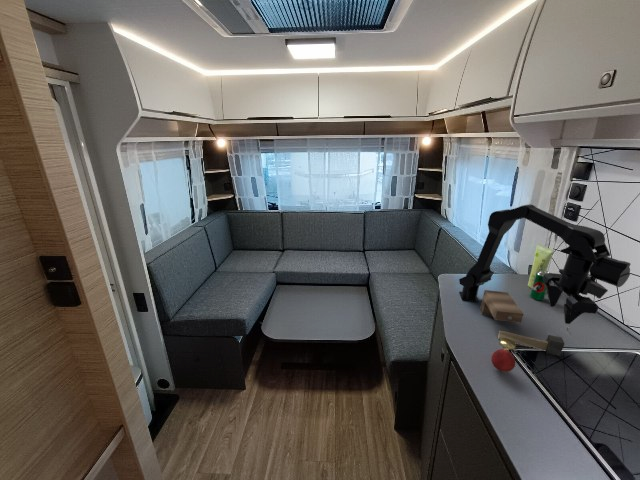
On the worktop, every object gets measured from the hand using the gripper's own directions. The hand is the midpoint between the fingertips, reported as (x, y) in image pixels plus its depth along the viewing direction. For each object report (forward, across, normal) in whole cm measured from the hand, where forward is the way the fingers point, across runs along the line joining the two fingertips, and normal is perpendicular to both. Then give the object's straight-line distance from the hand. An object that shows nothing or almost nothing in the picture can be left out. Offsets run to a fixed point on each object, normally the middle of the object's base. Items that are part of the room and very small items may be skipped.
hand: (559, 314), depth 92 cm
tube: (+12, +41, -12) cm, 44 cm away
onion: (+12, -16, +19) cm, 28 cm away
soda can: (+12, +31, -9) cm, 34 cm away
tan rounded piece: (+12, -4, +14) cm, 19 cm away
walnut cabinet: (+12, +9, +13) cm, 19 cm away
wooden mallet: (+12, -3, +7) cm, 14 cm away
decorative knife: (+12, +6, -9) cm, 16 cm away
